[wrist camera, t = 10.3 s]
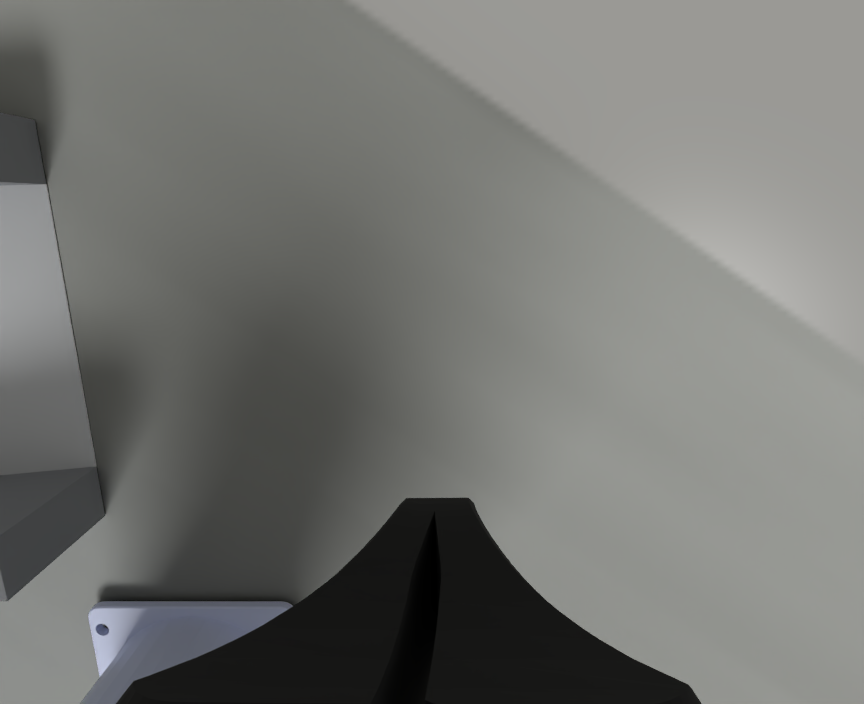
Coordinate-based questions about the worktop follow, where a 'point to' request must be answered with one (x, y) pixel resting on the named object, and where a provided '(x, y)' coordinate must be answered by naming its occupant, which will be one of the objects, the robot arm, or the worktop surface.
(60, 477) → the loading dock
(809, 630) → the worktop surface
